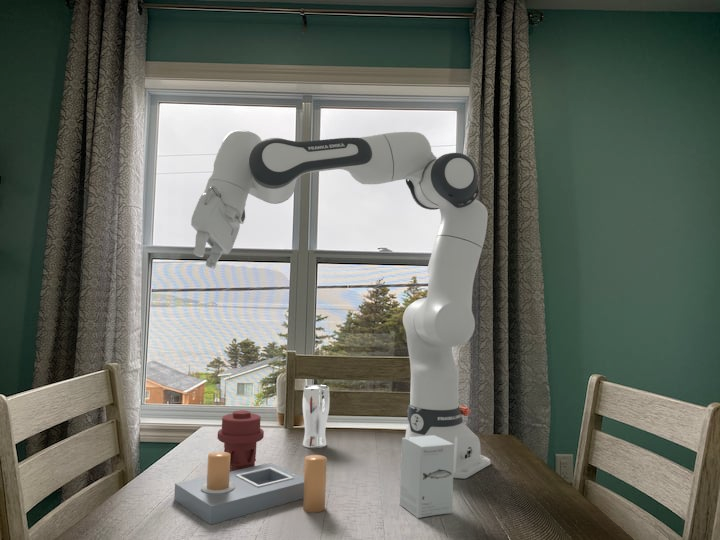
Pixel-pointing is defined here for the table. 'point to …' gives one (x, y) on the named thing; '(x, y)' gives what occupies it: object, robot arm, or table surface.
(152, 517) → the table surface
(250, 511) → the grey peg board
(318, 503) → the orange smooth rounded part
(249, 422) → the mechanical component
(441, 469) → the supplement box
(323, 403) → the beer glass
